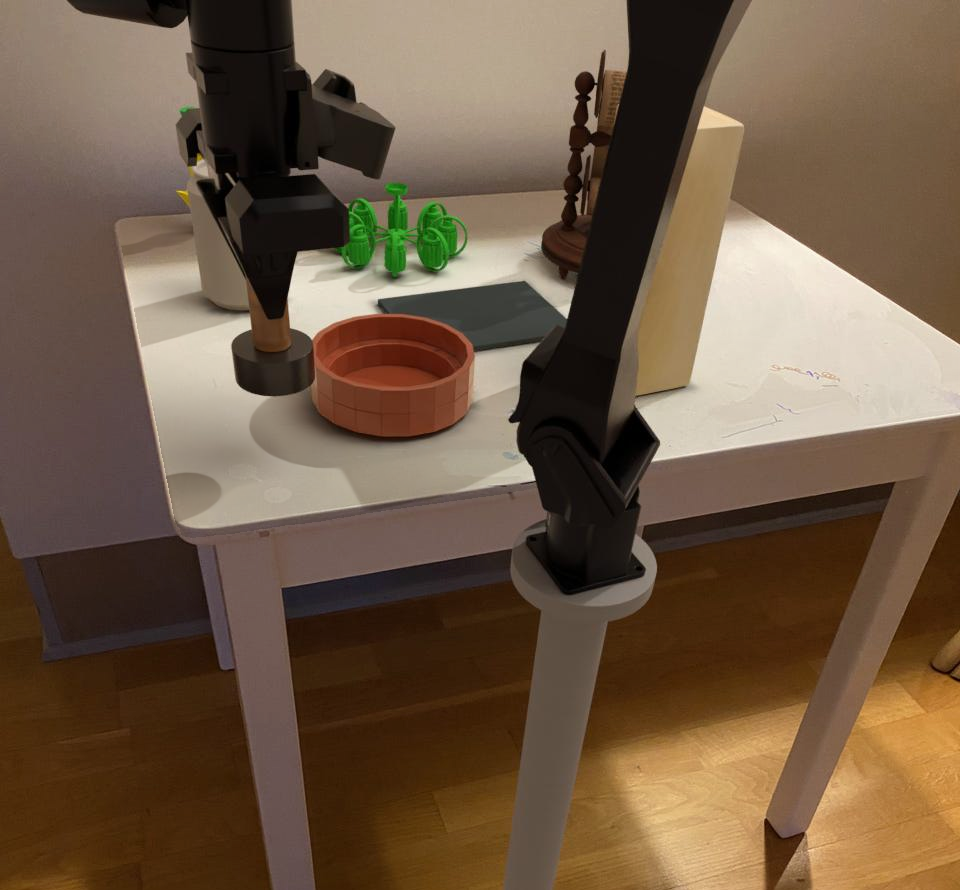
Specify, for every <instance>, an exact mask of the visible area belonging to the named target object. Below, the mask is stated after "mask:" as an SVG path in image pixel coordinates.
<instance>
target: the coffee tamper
mask: <svg viewBox="0 0 960 890" xmlns="http://www.w3.org/2000/svg"><path fill="white" fill-rule="evenodd" d="M245 276H246V275H245ZM246 285H247V293H248V302H249V310H248V311H249V319H250V320H249V321H250V327H251V329H248V330H245V331H243V332H241V333H239V334H238V335H236V336H235V337H234V338H233V339H232V341H231V345H230V348H231V355H232V363H233V369H234V370H233V371H234V379H235V382H236V384H237V385H238V387H240V388H241V389H242V390H243V391H245V392H247V393H250V394H252V395H256V396H262V397H274V398H275V397H285V396H292V395H295V394H298V393H301V392H303V391H305V390H307V389H308V388H311V385H312V384H313V382H314V380H315V363H314V348H313V341H312V339H313V338H311V337H310V336H309V335H308V334H306V333H305V332H303V331H301V330H298V329H296V328H291V323H290V311H289V299H288V298H287V303H286V308H285V312H284V316H283V317H282V318H280V319H272V320H269V319H267V317H266V315H265V313H264V311H263V309H262V307H261V305H260V303H259V301H258V299H257V297H256V295H255V293H254V291H253V289H252V287H251V285H250V283H249V281H248V279H247V277H246Z"/></svg>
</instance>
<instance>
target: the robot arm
mask: <svg viewBox="0 0 960 890" xmlns="http://www.w3.org/2000/svg"><path fill="white" fill-rule="evenodd" d="M66 1H67V3H69V4H70V6H71V7H73V8H74V9H75V10H76V11H78V12H80V13H82V14H85V15H91V16H96V17H102V18H108V19H113V20H114V19H115V20H119V21H125V22H131V23H136V24H142V25H148V26H154V27H159V28H165V29H174V28H177V27H179V25H181V24H182V23H184V21H185V20H186V19H187V22H188V31H189V38H190V46H191V52H185V58H186V65H187V73H188V74H189V76H190V77H191V78H192V79H193V80H194V81H195V84H196V92H197V99H198V107H197V108H196V107H195V108H192V109H187V110H186V111H185V113H184V114H183V115H181V117H180V118H179V120H177V122H176V123H175V131H176V137H177V143H178V144H177V145H178V150H179V156H180V157H181V159H182V160H183V162H184V163H185V165H186V166H187V168H189V167H191V166H197V154H199V153H200V155H201V156H202V158H203V159H204V161H205V162H206V163H207V168H208V176H209V179H201V180H198V181H197V182H196V185H197V188H198V190H199V191H200V193H201V195H202V197H203V199H204V201H205V203H206V205H207V206H208V208H209V210H210V212H211V214H212V216H213V218H214V220H215V222H216V224H217V226H218V228H219V230H220V232H221V233H222V235H223V237H224V239H225V241H226V243H227V245H228V247H229V249H230V251H231V253H232V255H233V257H234V258H235V260H236V262H237V264H238V266H239V268H240V270H241V272H242V274H243V276H244V278H245V280H246V277H247V279H248V281H249V283H250V285H251V287H252V289H253V291H254V293H255V295H256V297H257V299H258V301H259V303H260V305H261V307H262V309H263V311H264V313H265V315H266V317H267V319H269V320H272V319H280V318H282V317H283V316H284V312H285V308H286V303H287V298H288V297H289V294H290V293H289V292H290V287H291V283H292V279H293V274H294V268H295V264H296V260H297V257H298V254H299V252H310V251H319V250H327V249H333V248H338V247H344V246H346V245H347V244H348V243H350V228H349V209H348V206H347V205H346V204H345V203H344V202H343V201H342V200H341V198H339V196H337V194H336V193H335V192H334V191H333V190H332V189H331V188H330V187H329V186H328V185H327V184H326V182H324V181H323V180H322V179H321V178H320V177H319V176H318V175H317V174H315V173H309V174H299V175H298V174H297V175H291V174H292V172H291V169H297V170H299V171H311V170H312V171H313V170H319V168H320V167H319V166H320V165H319V158H321V159H323V160H325V161H329V162H332V163H334V164H337V165H340V166H343V167H347V168H350V169H353V170H356V171H359V172H361V174H362V175H363V176H364V177H366V178H369V179H373V180H377V181H379V180H380V179H381V178H382V174H383V170H384V168H385V164H386V161H387V158H388V155H389V152H390V148H391V145H392V141H393V137H394V135H395V134H394V133H395V132H396V125H394V124H393V123H392V122H390V121H389V120H388V119H387V118H386V117H385V116H384V115H382V114H381V113H380V112H379V111H377V110H375V109H374V108H372V107H369V106H368V105H367V104H366V103H364V102H361V101H360V102H357V96H356V87H355V83H354V82H353V81H352V80H350V79H349V78H348V77H347V76H345V75H342V74H340V73H338V72H336V71H333V70H330V69H327V68H325V69H324V70H323V71H322V72H321V73H320V75H318V77H317V78H316V80H315V81H314V82H313V83H312V77H311V75H310V73H309V72H307V70H306V69H305V68H304V67H303V66H302V65H301V64H300V63H298V62H297V61H296V59H297V58H296V44H295V43H296V42H295V30H294V28H295V27H294V15H293V13H294V12H293V1H292V0H66ZM752 1H753V0H626V19H627V36H628V39H627V41H628V61H627V70H626V72H627V73H626V77H625V82H624V86H623V90H622V94H621V98H620V102H619V106H618V111H617V115H616V119H615V123H614V127H613V131H612V135H611V140H610V144H609V148H608V152H607V156H606V160H605V164H604V169H603V173H602V177H601V181H600V185H599V189H598V193H597V198H596V202H595V206H594V210H593V214H592V218H591V223H590V227H589V231H588V235H587V239H586V243H585V247H584V252H583V256H582V260H581V264H580V268H579V272H578V274H577V276H576V281H575V285H574V289H573V293H572V298H571V301H570V306H569V309H568V310H569V311H568V314H567V317H566V319H567V322H566V326H565V329H564V328H563V327H561V326H559V325H555V326H554V327H553V328H552V329H551V330H550V332H549V333H548V334H547V335H546V336H545V337H544V339H543V340H542V341H539V343H538V344H537V345H536V347H535V348H534V349H533V350H532V351H531V352H530V353H529V354H528V356H527V357H526V358H525V359H524V360H523V362H522V364H521V370H520V376H519V395H518V402H517V404H516V407H515V410H513V412H512V413H511V415H510V416H509V417H508V419H507V420H508V422H509V423H510V424H517V423H518V424H517V428H516V439H515V441H516V447H517V451H518V452H519V454H521V455H523V457H524V459H525V460H526V462H527V464H528V465H529V466H530V467H531V469H532V472H533V477H534V480H535V485H536V487H537V488H536V489H537V491H538V496H539V499H540V500H539V501H540V503H541V507H542V509H543V510H544V511H545V512H546V518H545V519H546V532H541V533H537V534H533V535H529V536H527V537H526V545H527V547H528V548H529V549H530V551H531V552H532V553H533V555H534V556H535V557H536V559H537V560H538V561H539V563H540V564H541V565H542V567H543V568H544V569H545V571H546V572H547V573H548V575H549V576H550V577H551V579H552V580H553V581H554V583H555V584H556V585H557V587H558V588H559V589H560V591H561V592H562V593H563V594H565V595H574V594H578V593H582V592H586V591H590V590H594V589H598V588H602V587H606V586H610V585H613V584H617V583H621V582H625V581H629V580H633V579H637V578H641V577H643V576H644V575H645V572H646V568H645V567H644V565H643V564H642V563H641V562H640V561H639V560H638V558H637V557H636V556H635V555H634V554H633V553H632V548H633V543H634V538H635V534H636V535H637V529H638V524H639V519H640V515H641V511H642V510H641V509H642V505H641V504H640V503H639V498H640V492H641V491H640V486H639V485H640V483H641V481H642V479H643V478H644V475H645V474H646V472H647V470H648V468H649V466H650V465H651V463H652V462H653V459H654V457H655V455H656V453H657V452H658V450H659V448H660V446H661V440H660V439H659V438H658V436H657V435H656V433H655V431H654V430H653V429H652V427H651V426H650V425H649V423H648V422H647V420H646V419H645V417H644V416H643V415H642V414H641V412H640V410H639V409H638V408H637V407H636V405H635V404H636V403H635V402H636V396H635V395H636V387H637V378H638V370H639V359H638V342H637V331H638V324H639V321H640V318H641V314H642V311H643V308H644V304H645V301H646V298H647V294H648V291H649V288H650V284H651V281H652V278H653V274H654V271H655V268H656V264H657V261H658V258H659V254H660V251H661V248H662V244H663V241H664V238H665V234H666V231H667V228H668V224H669V221H670V218H671V214H672V211H673V208H674V204H675V201H676V198H677V194H678V191H679V188H680V184H681V181H682V178H683V174H684V171H685V168H686V164H687V161H688V158H689V154H690V151H691V148H692V145H693V141H694V138H695V135H696V131H697V128H698V125H699V121H700V118H701V115H702V111H703V108H704V106H705V104H706V101H707V98H708V94H709V91H710V88H711V84H712V81H713V78H714V76H715V75H714V74H715V72H716V70H717V67H718V66H719V64H720V61H721V60H722V58H723V56H724V54H725V52H726V50H727V48H728V47H729V44H730V43H731V42H732V41H731V40H732V39H733V37H734V36H735V33H736V31H737V30H738V27H739V26H740V24H741V22H742V20H743V18H744V16H745V14H746V13H747V10H748V9H749V7H750V6H751V3H752ZM245 275H246V276H245Z"/></svg>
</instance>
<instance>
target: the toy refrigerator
mask: <svg viewBox="0 0 960 890" xmlns="http://www.w3.org/2000/svg"><path fill="white" fill-rule="evenodd" d="M618 106H619V104H618V105H617V109H616V114H615V119H616V115H617V111H618ZM614 123H615V122H614ZM744 135H745V126H744V124H743V123H742V122H740V121H738V120H736V119H734V118H732V117H730V116H728V115H726V114H723V113H721V112H719V111H716V110H715V109H714V110H713V109H712V108H709V107H707V106H705V105H704V108H703V111H702V115H701V118H700V121H699V125H698V128H697V131H696V135H695V138H694V141H693V145H692V148H691V151H690V154H689V158H688V161H687V164H686V168H685V171H684V174H683V178H682V181H681V184H680V188H679V191H678V194H677V198H676V201H675V204H674V208H673V211H672V214H671V218H670V221H669V224H668V228H667V231H666V234H665V238H664V241H663V244H662V248H661V251H660V254H659V258H658V261H657V264H656V268H655V271H654V274H653V278H652V281H651V284H650V288H649V291H648V294H647V298H646V301H645V304H644V308H643V311H642V314H641V318H640V321H639V324H638V331H637V342H638V359H639V370H638V378H637V387H636V395H635V397H637V396H642V395H647V394H651V393H657V392H662V391H667V390H672V389H673V390H674V389H677V388H682V387H685V386H689V384H690V383H691V379H692V375H693V370H694V366H695V361H696V356H697V353H698V347H699V343H700V339H701V335H702V329H703V325H704V319H705V314H706V310H707V305H708V300H709V296H710V293H711V292H710V291H711V288H712V283H713V278H714V273H715V269H716V264H717V260H718V254H719V249H720V245H721V240H722V237H723V231H724V227H725V222H726V218H727V214H728V209H729V204H730V201H731V200H730V199H731V195H732V190H733V185H734V182H735V176H736V171H737V168H738V163H739V159H740V154H741V149H742V144H743V140H744Z"/></svg>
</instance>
